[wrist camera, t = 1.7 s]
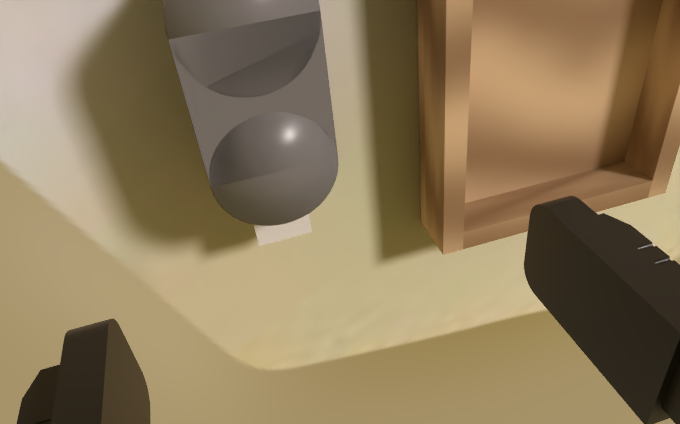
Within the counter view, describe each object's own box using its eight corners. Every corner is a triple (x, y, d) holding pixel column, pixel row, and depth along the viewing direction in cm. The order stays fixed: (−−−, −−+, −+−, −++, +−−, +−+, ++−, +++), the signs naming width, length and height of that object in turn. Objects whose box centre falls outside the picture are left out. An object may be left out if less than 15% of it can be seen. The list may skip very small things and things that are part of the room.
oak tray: (411, -326, 16) (450, -349, 14) (758, -357, 18) (837, -381, 16) (421, 222, 28) (443, 254, 26) (629, 167, 30) (665, 192, 28)
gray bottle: (117, -163, 16) (110, -158, 13) (265, -182, 17) (296, -183, 13) (224, 214, 24) (237, 279, 21) (320, 190, 25) (348, 249, 22)
